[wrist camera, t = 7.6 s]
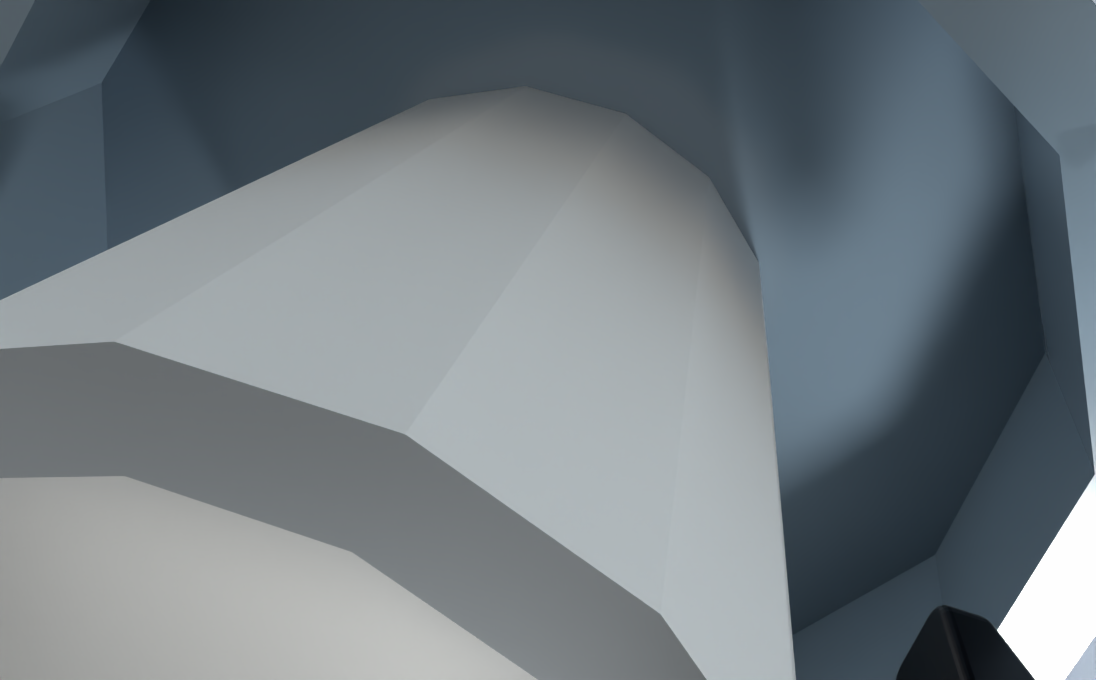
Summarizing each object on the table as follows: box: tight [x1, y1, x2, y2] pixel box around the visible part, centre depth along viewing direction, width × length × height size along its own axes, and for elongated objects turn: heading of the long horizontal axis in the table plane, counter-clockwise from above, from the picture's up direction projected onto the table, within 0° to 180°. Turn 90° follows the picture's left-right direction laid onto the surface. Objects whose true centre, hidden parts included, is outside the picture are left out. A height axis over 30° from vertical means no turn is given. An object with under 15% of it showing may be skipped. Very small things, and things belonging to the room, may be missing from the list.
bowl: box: [0, 0, 1096, 680], centre depth 11 cm, size 13×13×3 cm
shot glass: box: [0, 86, 796, 680], centre depth 9 cm, size 7×7×7 cm
